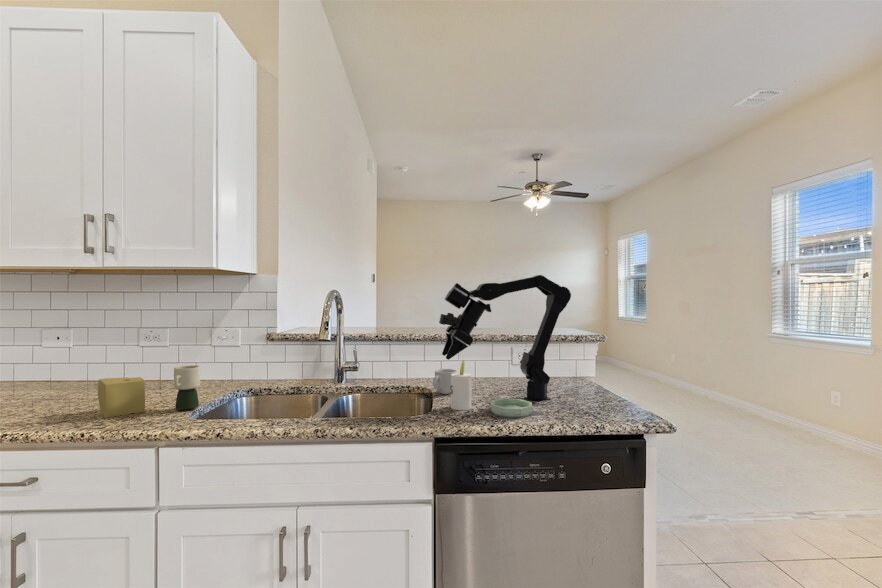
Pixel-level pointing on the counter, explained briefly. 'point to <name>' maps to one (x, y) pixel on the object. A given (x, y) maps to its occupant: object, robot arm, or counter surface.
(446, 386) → the cup
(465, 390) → the candle
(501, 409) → the dish
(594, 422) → the counter surface
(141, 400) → the cheese
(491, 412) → the mat
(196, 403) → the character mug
